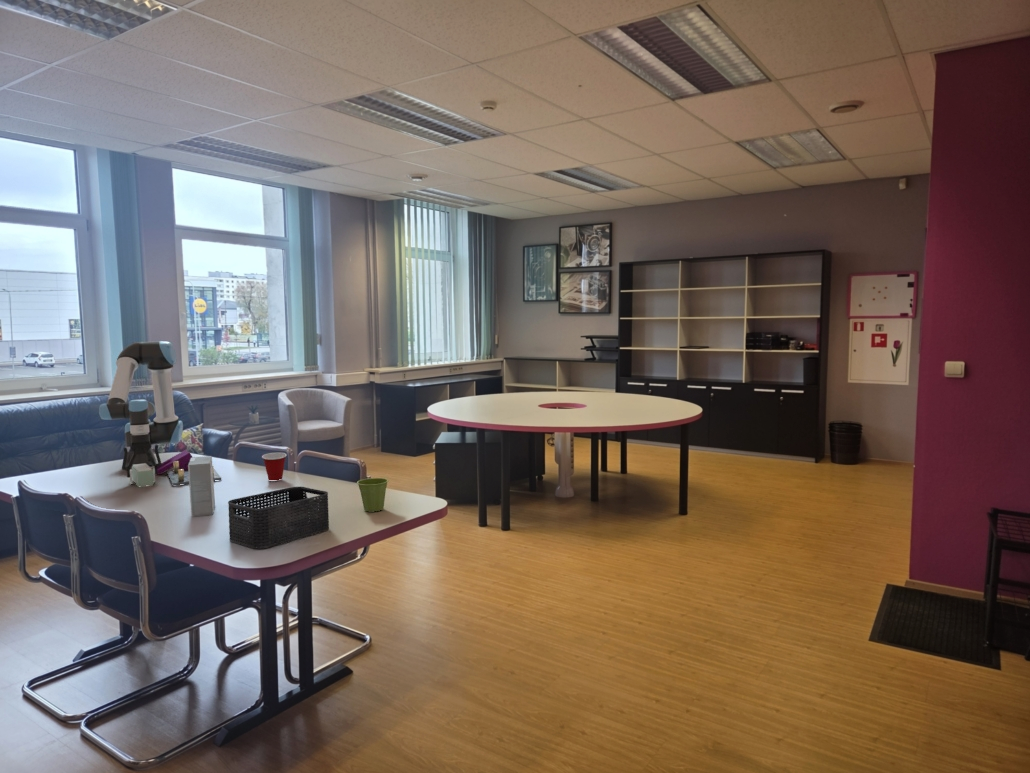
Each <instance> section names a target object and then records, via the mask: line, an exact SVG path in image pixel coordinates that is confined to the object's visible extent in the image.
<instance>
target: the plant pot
mask: <svg viewBox="0 0 1030 773" xmlns="http://www.w3.org/2000/svg"><path fill="white" fill-rule="evenodd" d="M388 482H389V479H387V478H383V477H372V478H364V479H359V480H358V481H357V482H356V484H357V486H358V488H359V491H360V496H361V500H362V505H363V510H365V512H366V511H370V512H369V513H374V512H373V511H376V512H381V511H380V510H382V511H383V510H384V508H385V507H384V506H385V501H386V500H385V498H386V492H387V487H388V486H387V485H388Z"/></svg>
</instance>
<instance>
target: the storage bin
mask: <svg viewBox="0 0 1030 773" xmlns="http://www.w3.org/2000/svg"><path fill="white" fill-rule="evenodd" d="M307 494H311V495H315V496H310V497H308V495H307ZM328 495H329V492H328V491H326V490H320V489H315V488H309V487H305V486H290V487H287V488H282V489H277V490H276V489H275V490H271V491H266V492H262V493H258V494H253V495H248V496H243V497H238V498H233V499H230V500H229V501H228V502H227V504H228V523H229V524H228V525H229V526H228V530H229V531H228V533H229V541H230V542H232V543H234V544H238V545H241V546H244V547H247V548H251V549H255V550H256V549H258V550H260V549H267V548H273V547H276V546H279V545H284V544H286V543H290V542H293V541H297V540H301V539H304V538H307V537H311V536H314V535H317V534H321V533H324V532H326V531H329V529H330V523H329V522H330V521H329V520H330V519H329V518H330V516H329V496H328Z"/></svg>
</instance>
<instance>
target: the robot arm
mask: <svg viewBox="0 0 1030 773" xmlns="http://www.w3.org/2000/svg"><path fill="white" fill-rule="evenodd" d="M115 364H116V370H115V374H114V377H113V381H112V385H111V387H110V388H111V389H110V392H109V395H108V398H107V402H105V403H100V404H99V408H98V414H99V417H100V419H101V420H105V421H106V420H108V421H109V420H111V421H112V420H129V422H127V423H126V424H125V426H124V438H125V446H124V447H123V458H122V459H123V460H122V463H121V464H122V465H121V470H125V471H126V477H127V478H129V482H130V485H131V484H133V479H132V466H133V465H135V464H144V463H146V464H147V465H148V466H149V465H152V466H153V467H151V469H152V470H153V481H154V483H156V476H157V475H156V474H158V469H157V468H158V467H159V466H161V465H162V463H163V462H162V461H161V458H160V454H159V453H160V452H159V445H165V444H166V445H167V444H168V445H172V444H179V443H180V441H181V440H182V437H183V430H184V424H183V421H182V420H179V416H178V415H176V414H175V413H176V412H175V404H174V393H173V383H172V374H171V373H172V372H171V370H172V369H173V368H174V365H176V364H177V352H176V349H175V346H174V345H173V343H171V342H169V341H162V340H160V341H159V340H158V341H156V340H155V341H136V342H133V343H131V344H129V345H127V346H126V347H124V349H123V350H121V351H120V353H119V354H118V356H117V358H116V362H115ZM139 366H146V367H147V370H148V371H150V372H151V381H152V389H153V399H154V400H153V401H154V403H153V402H151V401H148V400H147V399H144V398H143V399H140V398H139V399H132V400H129V401H128V397H129V394H130V390H131V386H132V383H133V378H134V375H135V371H136V370H138V368H139ZM127 401H128V402H127ZM154 415H155V417H154V418H153V421H151V419H149V418H151V417H153V416H154ZM149 467H150V466H149ZM158 475H159V474H158Z"/></svg>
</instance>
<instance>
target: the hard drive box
mask: <svg viewBox="0 0 1030 773" xmlns="http://www.w3.org/2000/svg"><path fill="white" fill-rule="evenodd" d="M212 466H213V457H212V455H205V456H204V455H203V456H192V458H191V459H190V462H189V464H188V471H189V485H188V486H189V498H190V499H189V500H190V501H189V503H190V515H191V518H194V517H204V516H212V515H213V514H214V511H215V505H216V500H215V499H216V498H215V487H214V486H215V484H214V482H215V481H214V482H213V467H214V466H213V467H212Z"/></svg>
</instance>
